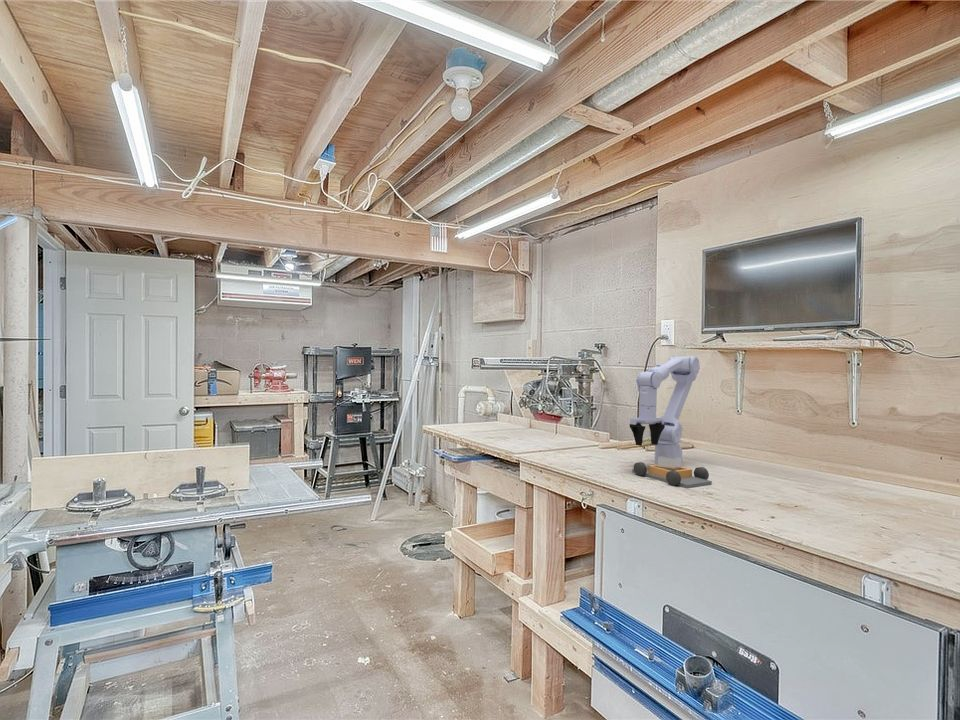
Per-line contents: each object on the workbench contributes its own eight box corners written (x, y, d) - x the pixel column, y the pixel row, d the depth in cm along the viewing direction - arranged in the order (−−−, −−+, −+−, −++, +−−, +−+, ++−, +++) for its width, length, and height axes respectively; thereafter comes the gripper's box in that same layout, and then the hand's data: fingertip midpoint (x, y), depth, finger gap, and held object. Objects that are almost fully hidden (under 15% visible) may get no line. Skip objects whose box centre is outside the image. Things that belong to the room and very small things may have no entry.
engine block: (663, 472, 164) (663, 454, 164) (680, 475, 159) (680, 457, 159) (657, 474, 161) (657, 456, 161) (675, 477, 157) (675, 459, 157)
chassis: (658, 469, 173) (658, 456, 173) (715, 483, 153) (715, 469, 153) (628, 472, 167) (628, 460, 167) (683, 488, 147) (683, 474, 147)
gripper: (653, 405, 177) (652, 442, 176) (624, 405, 170) (622, 443, 169) (669, 406, 170) (668, 445, 170) (639, 406, 163) (638, 446, 163)
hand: (646, 444), depth 169 cm, fingers open, 7 cm apart
